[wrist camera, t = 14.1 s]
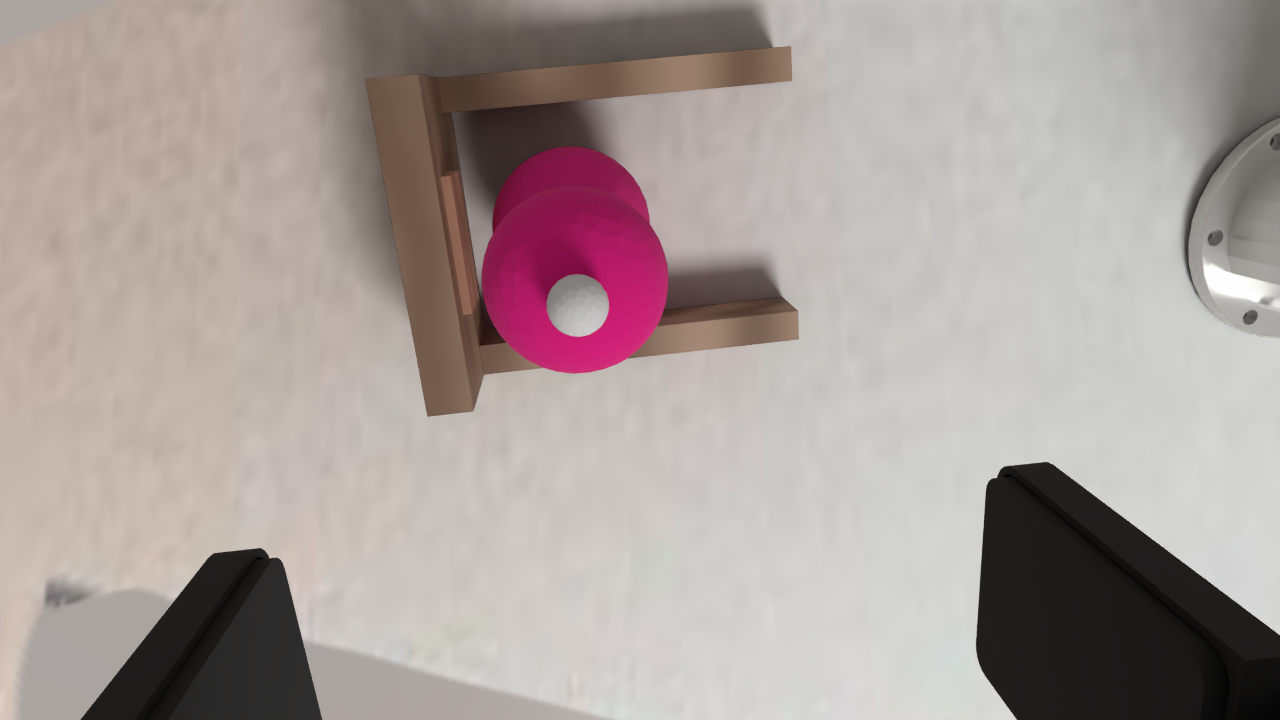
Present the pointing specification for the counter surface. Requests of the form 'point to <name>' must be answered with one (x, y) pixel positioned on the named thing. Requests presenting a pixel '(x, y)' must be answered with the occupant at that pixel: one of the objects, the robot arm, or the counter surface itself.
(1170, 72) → the counter surface
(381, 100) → the spice rack
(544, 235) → the pepper mill
